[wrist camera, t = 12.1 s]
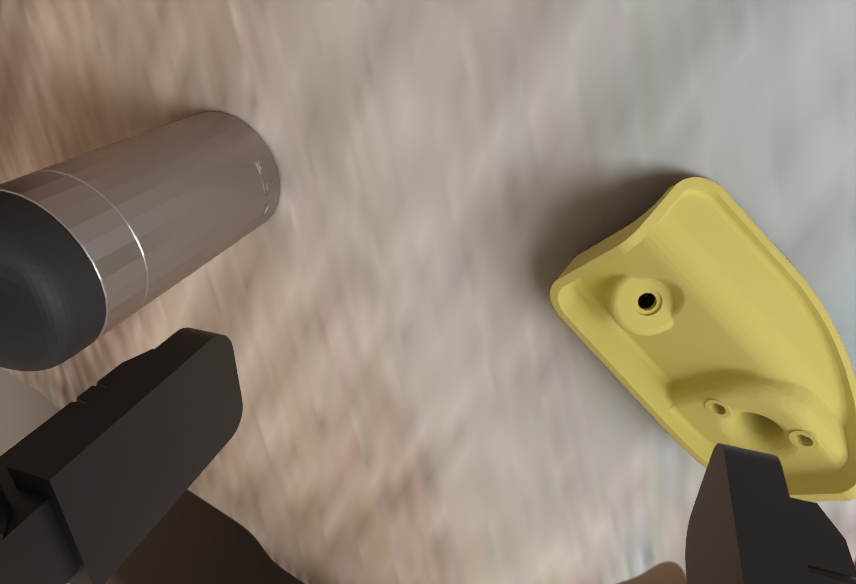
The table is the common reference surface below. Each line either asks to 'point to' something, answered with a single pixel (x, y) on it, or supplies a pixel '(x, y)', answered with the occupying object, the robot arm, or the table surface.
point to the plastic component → (719, 338)
